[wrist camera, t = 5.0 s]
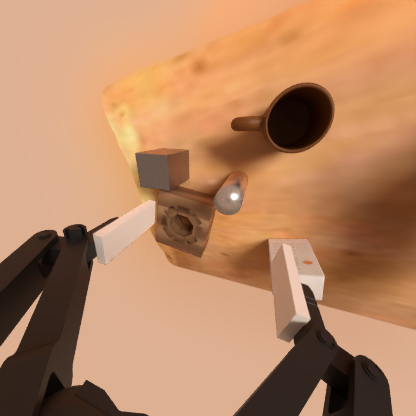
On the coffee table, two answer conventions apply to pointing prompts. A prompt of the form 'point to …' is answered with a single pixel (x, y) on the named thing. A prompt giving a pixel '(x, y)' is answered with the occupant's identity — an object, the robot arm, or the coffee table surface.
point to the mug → (293, 118)
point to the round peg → (231, 193)
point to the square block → (163, 168)
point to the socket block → (175, 228)
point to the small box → (301, 263)
